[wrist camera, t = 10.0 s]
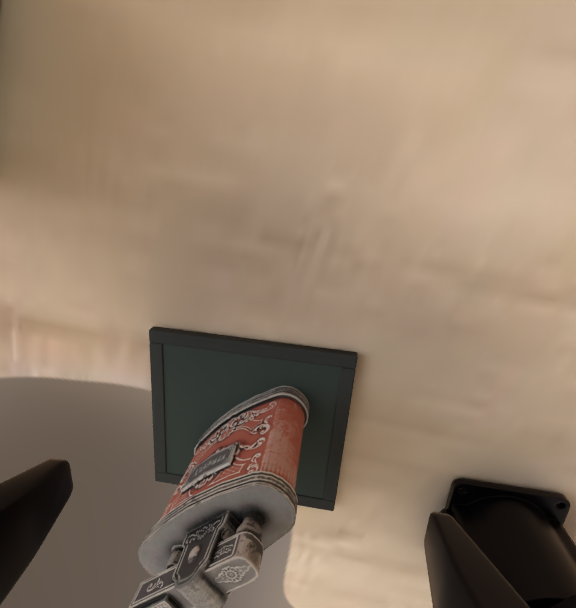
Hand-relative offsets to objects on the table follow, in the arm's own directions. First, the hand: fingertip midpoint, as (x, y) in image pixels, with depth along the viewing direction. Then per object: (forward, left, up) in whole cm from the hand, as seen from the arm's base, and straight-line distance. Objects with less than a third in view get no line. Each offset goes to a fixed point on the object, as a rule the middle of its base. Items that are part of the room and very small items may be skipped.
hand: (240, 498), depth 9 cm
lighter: (+2, +7, -12) cm, 14 cm away
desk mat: (+2, +7, -12) cm, 14 cm away
